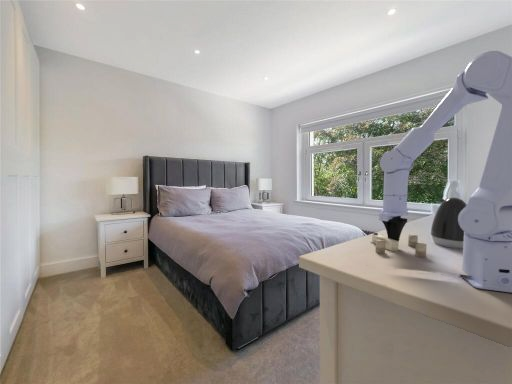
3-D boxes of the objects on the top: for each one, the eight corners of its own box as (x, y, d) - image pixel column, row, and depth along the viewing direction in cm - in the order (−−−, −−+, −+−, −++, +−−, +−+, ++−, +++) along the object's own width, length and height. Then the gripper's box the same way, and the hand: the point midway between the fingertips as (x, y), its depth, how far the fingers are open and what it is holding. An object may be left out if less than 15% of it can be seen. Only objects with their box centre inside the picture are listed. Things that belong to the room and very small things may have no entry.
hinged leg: (370, 242, 71) (371, 232, 70) (376, 242, 71) (377, 232, 71) (391, 250, 62) (391, 240, 62) (398, 250, 62) (398, 239, 62)
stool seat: (433, 265, 55) (434, 247, 55) (372, 258, 60) (373, 242, 59) (415, 248, 68) (416, 234, 68) (367, 244, 73) (367, 230, 73)
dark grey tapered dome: (456, 244, 73) (458, 196, 72) (485, 254, 63) (488, 199, 62) (422, 243, 74) (424, 196, 73) (445, 253, 64) (448, 198, 63)
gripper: (390, 193, 72) (388, 236, 73) (368, 195, 63) (366, 244, 64) (416, 194, 67) (414, 241, 67) (396, 197, 57) (394, 251, 58)
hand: (393, 243), depth 65 cm, fingers closed, pressing on hinged leg
